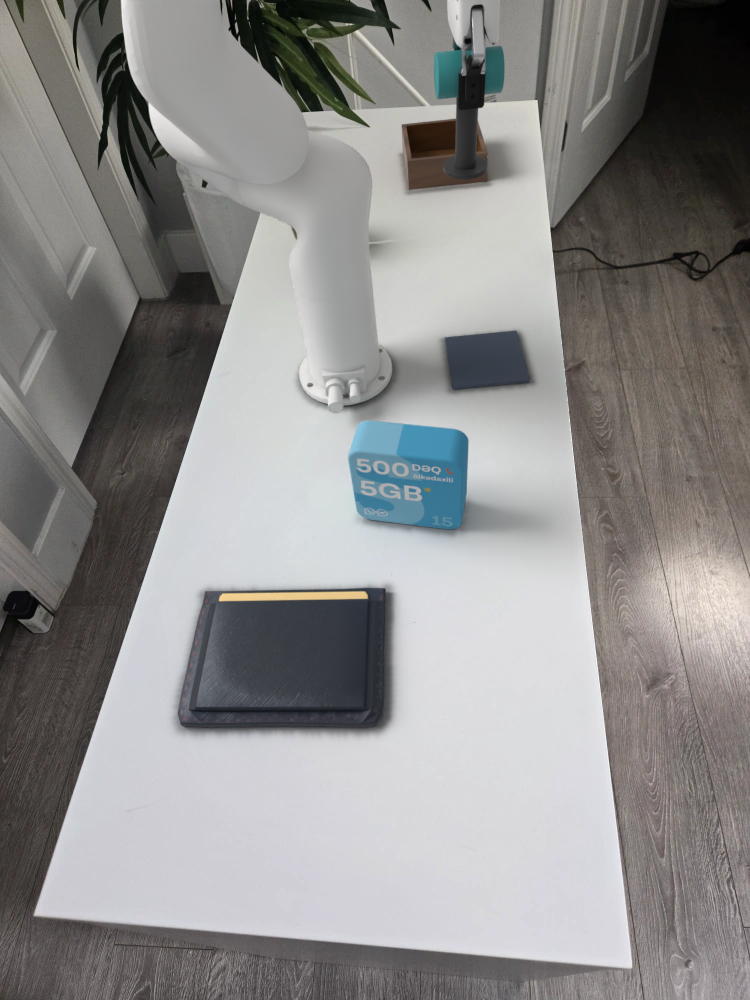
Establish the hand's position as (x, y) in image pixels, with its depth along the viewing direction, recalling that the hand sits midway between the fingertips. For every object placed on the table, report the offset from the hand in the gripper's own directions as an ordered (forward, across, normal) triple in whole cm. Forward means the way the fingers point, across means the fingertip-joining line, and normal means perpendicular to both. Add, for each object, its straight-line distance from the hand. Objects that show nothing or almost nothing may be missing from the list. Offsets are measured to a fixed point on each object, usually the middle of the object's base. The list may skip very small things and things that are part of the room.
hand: (467, 96), depth 90 cm
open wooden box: (+25, +31, -1) cm, 39 cm away
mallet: (+9, 0, 0) cm, 9 cm away
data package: (+26, -45, +12) cm, 53 cm away
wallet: (+26, -62, +27) cm, 72 cm away
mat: (+25, -21, 0) cm, 33 cm away
